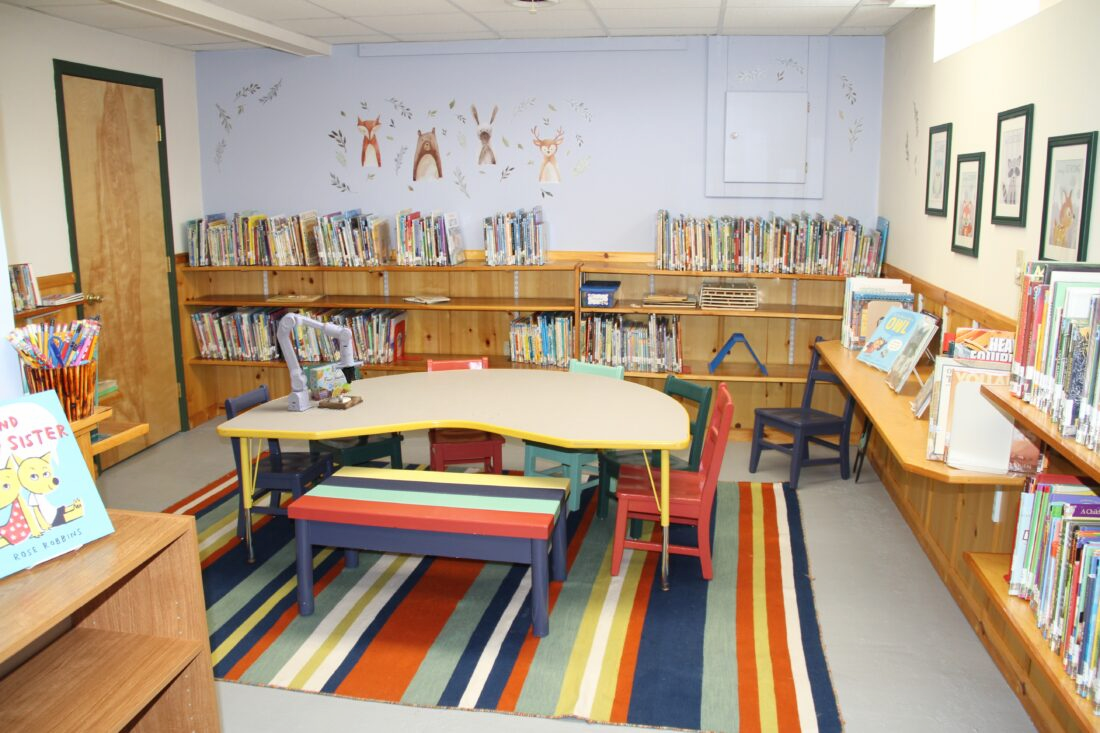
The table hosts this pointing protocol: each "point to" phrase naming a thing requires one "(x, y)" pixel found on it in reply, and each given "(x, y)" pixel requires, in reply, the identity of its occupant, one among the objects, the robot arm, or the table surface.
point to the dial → (340, 399)
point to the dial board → (344, 406)
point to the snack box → (327, 382)
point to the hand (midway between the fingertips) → (349, 383)
